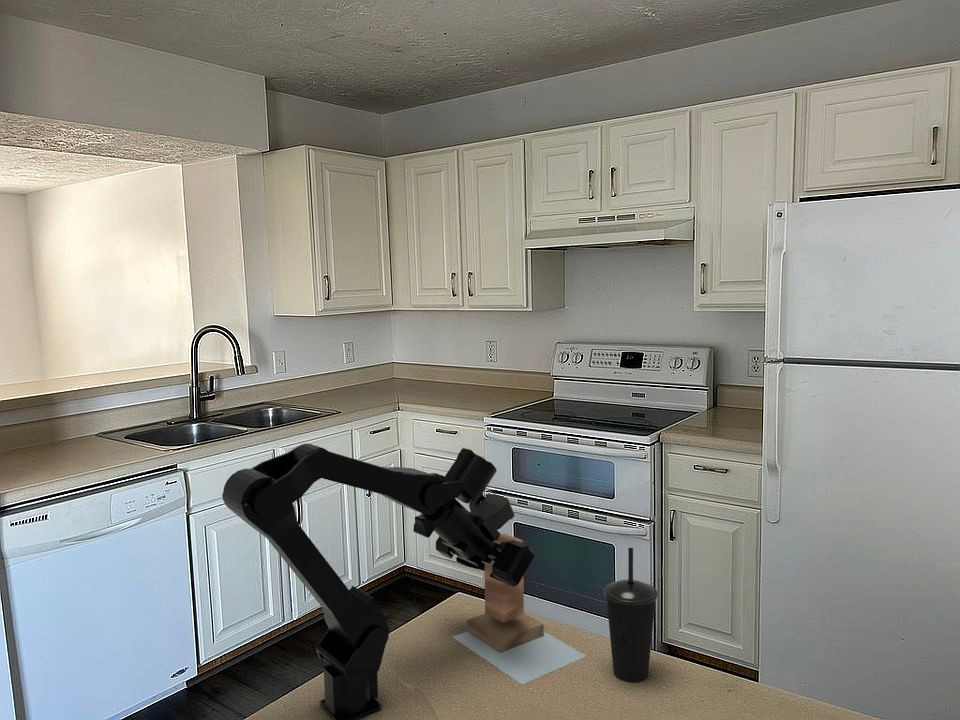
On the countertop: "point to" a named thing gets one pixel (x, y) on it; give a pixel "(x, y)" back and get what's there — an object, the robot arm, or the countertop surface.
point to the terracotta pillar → (503, 592)
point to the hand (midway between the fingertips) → (510, 576)
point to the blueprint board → (525, 656)
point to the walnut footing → (505, 631)
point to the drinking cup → (630, 625)
